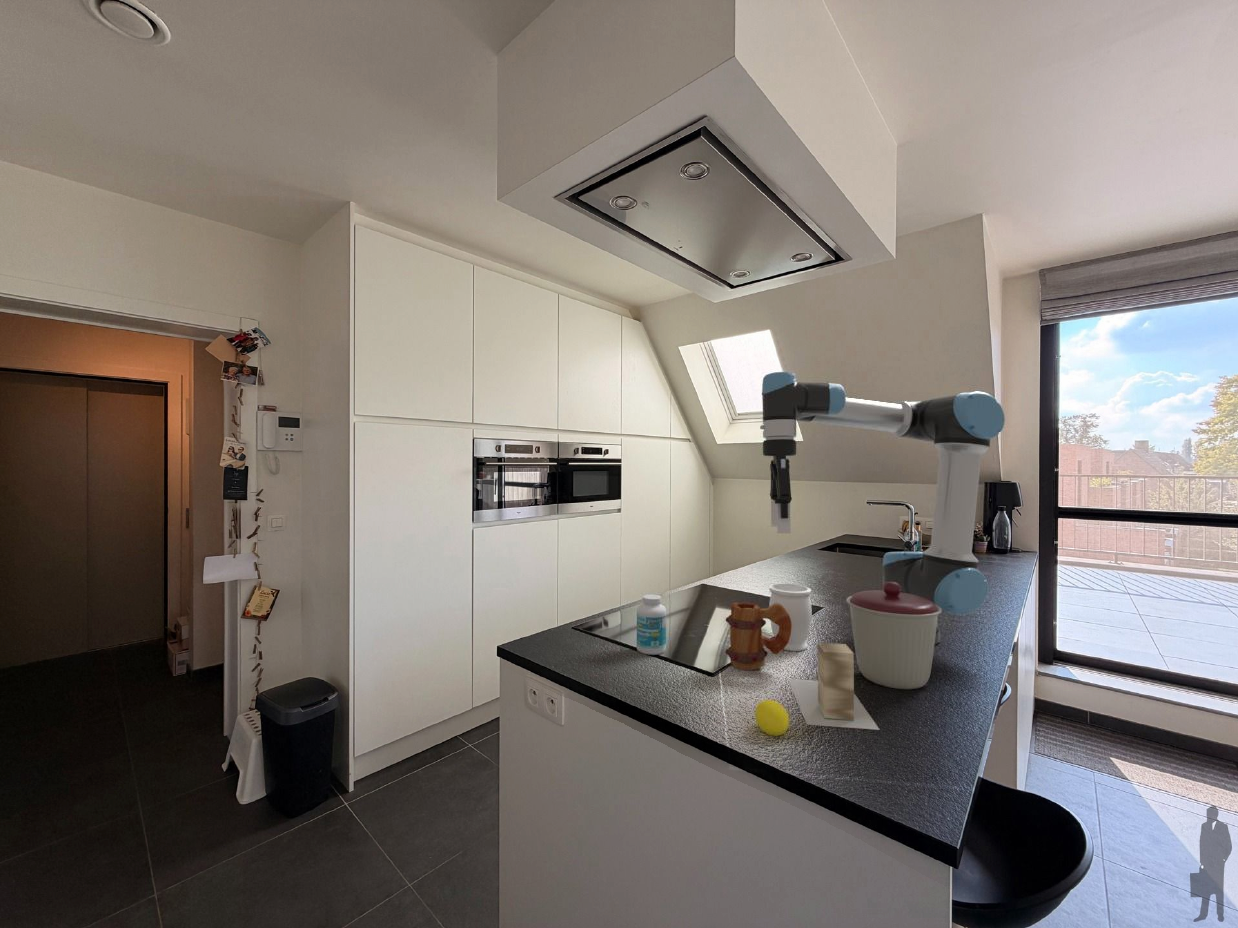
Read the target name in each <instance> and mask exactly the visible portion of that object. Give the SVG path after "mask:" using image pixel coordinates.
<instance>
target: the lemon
mask: <svg viewBox="0 0 1238 928" xmlns="http://www.w3.org/2000/svg"><path fill="white" fill-rule="evenodd" d="M754 712H755V713H754V717H755V721H756V724H757V725H758V727H759V728H760V730H761V731H762V732H763V733H766V734H767V735H769V736H772V737H773V736H774V737H778V736H781V735H784V734H785V733H786V732H787V731H788V729H789V725H790V715H789V713H788V712H787V710H786V708H785V707H784V706H783V705H782V704H780V702H778V701H775V700H773V699H764V700H762V701H760V702H759V703H758V704H757V705H756V707H755V711H754Z"/></svg>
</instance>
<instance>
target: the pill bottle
mask: <svg viewBox="0 0 1238 928" xmlns="http://www.w3.org/2000/svg"><path fill="white" fill-rule="evenodd" d="M641 600H642V604H640V605H638V607H637V609H636V649H637V652H639V653H641V654H644V655H647V656H648V655H650V656H655V655H656V656H657V655H661V654H663V653H664V652H665V651H666V648H667V608H666V607H665V606H664V605H663V604H661V602H662V596H661V595H658V594H645V595H642V599H641Z"/></svg>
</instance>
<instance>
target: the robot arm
mask: <svg viewBox="0 0 1238 928" xmlns="http://www.w3.org/2000/svg"><path fill="white" fill-rule="evenodd" d="M761 385H762V387H761V395H762V396H761V399H762V424H761V425H760V426H759V429H760V430H763V431H762V438H763V439H765V440H763V441H762V455H763V456H764V457H773V459H772V460H771V461H770V465H769V469H770V470H769V471H770V490H769V491H770V493H769V496H770V499H771V500H770V520H771V521H770V526H771V527H773V528H775V527H776V530H777V531H776V532H777V534H791V502H792V499H793V497H792V490H791V489H792V488H791V477H790V460H789V459H790V458H787V457H794V456H796V455H797V440H796V439H795V438H797V421H798V422H808V423H809V422H810V423H817V424H824V425H825V424H826V425H832V426H840V427H841V426H842V427H850V428H857V429H865V430H875V431H882V432H888V433H890V435H892V436H894V437H900V438H907V439H913V440H918V441H925V442H932V443H933V447H934V448H935V449H936V450H937V451H938V452H939V460H938V469H937V480H936V487H935V488H936V489H935V499H934V508H933V519H932V520H933V521H932V528H931V538H930V539H931V540H930V546H929V547H928V548H927V549H925V550H924V551H889V552H886V553H885V554H884V555H883V562H882V566H881V567H882V586H883V585H884V584H885V583H886V582H896V583H898V584H899V585H900V586H901V592H903V593H908V594H913V595H917V596H921V597H924V598H926V599H928V600H930V601H932V602H933V603H934V604H936V605H938V606H939V607H940V608H941V609H942V612H943V613H947V614H951V615H956V616H967V615H970V614H971V615H972V614H973V613H975V612H976V611H977V610H978V609H980V608H982V606H983V605H984V603H985V602H986V600H987V597H988V595H989V582H988V579H986V577H985V575H984V574H983V572H981V571H980V570H979V559H978V558H977V557H976V556H975V555H974V554H973V543H974V532H975V523H976V511H977V501H978V493H979V492H978V490H979V482H980V481H979V480H980V473H981V472H980V471H981V461H982V456H983V454H985V453H986V452H988V451H989V450H990V449H991V447H990V446H991V439H994V438H995V437H997V436H998V435H999V434H1000V433H1001V432H1002V431H1003V429H1004V426H1005V423H1006V422H1005V421H1006V420H1005V419H1006V418H1005V413H1004V409H1003V407H1002V405H1001V404H1000V403H999V402H998V401H997V399H996V398H995V397H994V396H993V395H991V394H989V393H987V392H984V391H983V392H982V391H971V392H966V391H965V392H960V393H959V394H953V395H949V396H948V395H947V396H943V397H936V398H931V399H926V400H925V399H924V400H919V401H904V400H901V401H897V402H895V403H889V402H884V401H883V402H881V401H875V400H868V399H867V400H865V399H859V398H849V397H847V394H846V390H845V388H844V387H843V385H841V384H840V383H832V382H828V381H827V382H800V381H799V382H798V381H797V377H796V374H795V373H794V372H790V371H777V372H771V373H767V374H765V375H764V376H763V379H762V384H761ZM882 590H883V589H882ZM883 591H884V590H883ZM940 642H941V632H940V629H939V625H938V624H937V628H936V636H935V645H936V644H939V643H940Z"/></svg>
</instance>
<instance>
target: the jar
mask: <svg viewBox="0 0 1238 928" xmlns="http://www.w3.org/2000/svg"><path fill="white" fill-rule="evenodd" d="M768 590H769V591H770V593H771V594H770V597H769V604H768V605H769V606H768V607H770V606H771V605H773V604H775V603H778V604H781V605H782V606H783V607H784V608H785V609H786V611H787V612H788V614H789V616H790V618H791V624H792V627H791V635H790V639H789V642H788V644H787V645H786V646H785V648H784V649H783V651H784V650H785V651H789V652H790V651H792V652H801V651H805V650H807V648H808V644H807V642H806V641H807V639H808V637H809V634H810V629H811V624H812V613H813V612H812V610H813V609H812V602H811V599H810V598H811V597H810V595H812V588H810V587H808V586H805V585H800V584H796V583H795V584H794V583H775V584H770V585H769V588H768ZM770 625H771V631H772V633H773V635H774V637H776V635H777V634H778V632H779V626H778V625H777V624H775V623H774V622H772V621H771V620H770Z"/></svg>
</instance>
